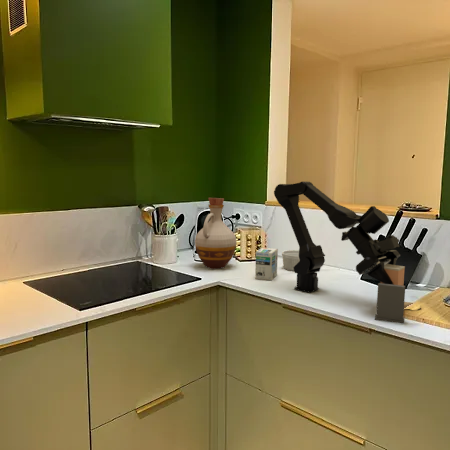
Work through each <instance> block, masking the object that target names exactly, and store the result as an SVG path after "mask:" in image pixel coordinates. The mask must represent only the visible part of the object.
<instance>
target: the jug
mask: <svg viewBox="0 0 450 450" xmlns="http://www.w3.org/2000/svg"><path fill="white" fill-rule="evenodd" d="M208 201H209V204H208V208H209V212H210V213H208V214H207V216H206V217H205V219H204V223H203V227H202V228H201V229H200V230H199V231H198V232H197V233H196V235H195V240H194V245H195V249H196V253H197V256H198V258H199V259H200V261H201V262H202V264H203V265H204V267H206V268H207V269H210V270H211V269H212V270H217V269H218V270H219V269H221V270H222V269H224V268H225V267H227V265H228V264H229V263H230V261H231V260H232V259H233V256H234V254H235V251H236V247H237V237H236V235H235V233H234V232H233V231H232V229H230V228H229V227H228V226H227V225H226V224H225V223H224V221H223V220H222V219H223V218H222V215H223V214H222V213H223V208H224V206H225V204H224V201H225V198H221V197H220V198H219V197H208Z"/></svg>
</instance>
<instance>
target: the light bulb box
mask: <svg viewBox="0 0 450 450" xmlns="http://www.w3.org/2000/svg"><path fill="white" fill-rule="evenodd" d="M278 254H279V249H278V248H271V247H270V248H269V247H261V248H259V249H258V250H257V251H255V269H254V270H255V274H254V276H255V277H254V278H255V280H262V281H272V280H273V279H274V278H276V277H277V275H278V256H279V255H278Z"/></svg>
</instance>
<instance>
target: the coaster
mask: <svg viewBox="0 0 450 450" xmlns="http://www.w3.org/2000/svg"><path fill="white" fill-rule="evenodd" d="M413 303H414V302H411V301H404V308H406V307H407V306H409V305H411V304H413Z"/></svg>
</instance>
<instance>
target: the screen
mask: <svg viewBox="0 0 450 450" xmlns="http://www.w3.org/2000/svg"><path fill="white" fill-rule="evenodd" d="M405 294H406V285H403V286H402V285H392V284H383V283H381V282H378V283H377V295H376V296H377V297H376V311H375V316H374V320H375V321H382V322H387V323H396V324H402V325H403V324H405V318H404V314H405V312H404V311H405V309H404V302H405V301H406V300H405V296H406V295H405Z"/></svg>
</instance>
